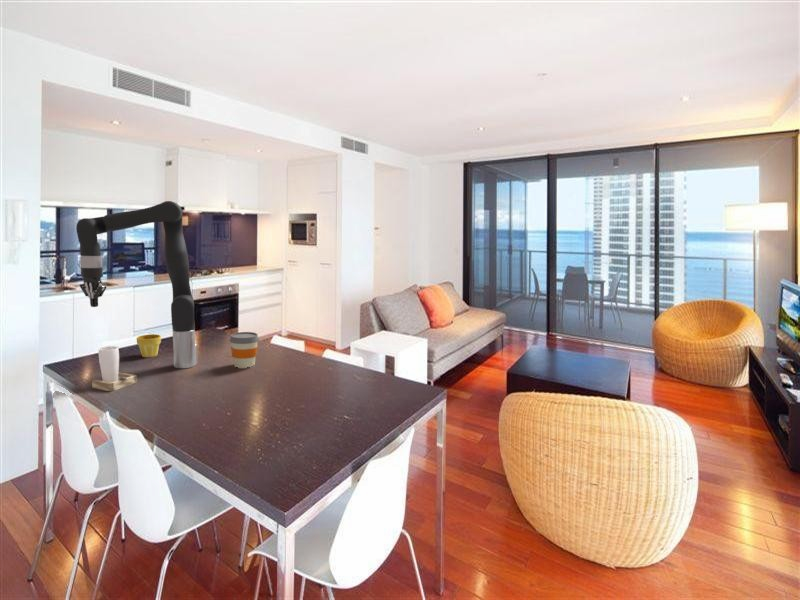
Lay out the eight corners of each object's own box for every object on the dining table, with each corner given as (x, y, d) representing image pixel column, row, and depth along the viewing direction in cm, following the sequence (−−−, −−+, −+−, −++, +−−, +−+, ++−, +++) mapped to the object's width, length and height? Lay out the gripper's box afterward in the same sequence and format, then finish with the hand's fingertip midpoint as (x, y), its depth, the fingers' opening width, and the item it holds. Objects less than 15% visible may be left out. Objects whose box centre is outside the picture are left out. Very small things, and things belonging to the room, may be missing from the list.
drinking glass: (114, 387, 172) (111, 350, 170) (96, 386, 172) (94, 350, 170) (124, 381, 179) (122, 346, 177) (107, 381, 179) (105, 345, 176)
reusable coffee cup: (258, 361, 214) (258, 331, 212) (258, 368, 202) (258, 337, 200) (231, 362, 210) (230, 332, 208) (229, 370, 198) (229, 338, 196)
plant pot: (144, 359, 208) (143, 340, 207) (133, 355, 214) (132, 336, 212) (165, 355, 217) (164, 336, 215) (154, 351, 222) (153, 333, 221)
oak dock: (119, 378, 181) (118, 370, 181) (138, 382, 178) (137, 373, 178) (92, 387, 171) (91, 378, 170) (112, 391, 168) (111, 382, 167)
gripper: (111, 266, 184) (114, 306, 186) (88, 264, 188) (91, 304, 191) (94, 267, 177) (97, 309, 179) (71, 265, 181) (74, 306, 183)
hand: (94, 306), depth 185 cm, fingers closed
